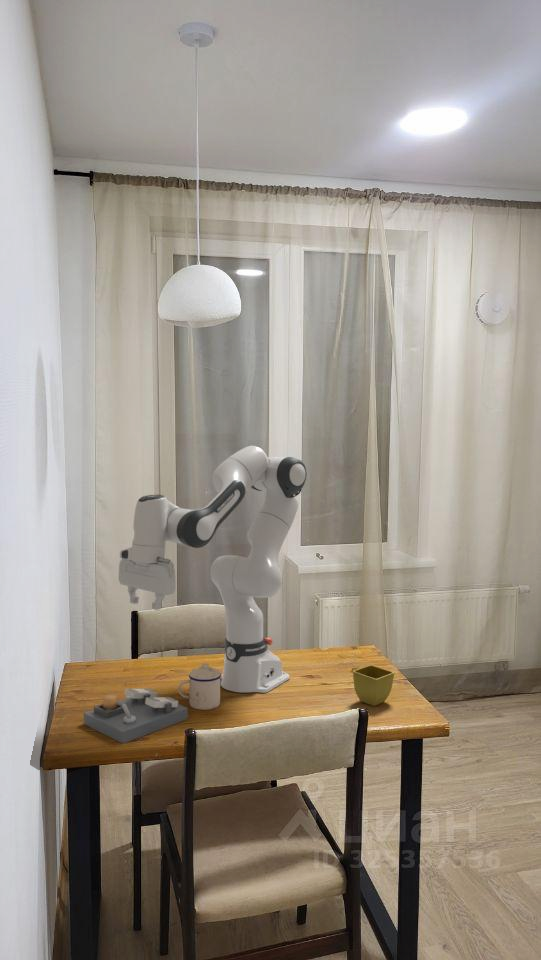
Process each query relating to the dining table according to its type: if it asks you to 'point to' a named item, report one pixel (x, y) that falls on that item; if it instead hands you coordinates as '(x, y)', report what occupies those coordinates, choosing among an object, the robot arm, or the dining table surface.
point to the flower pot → (373, 684)
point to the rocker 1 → (139, 693)
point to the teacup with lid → (203, 687)
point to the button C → (109, 701)
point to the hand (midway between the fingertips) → (144, 606)
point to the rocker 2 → (160, 702)
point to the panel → (133, 718)
